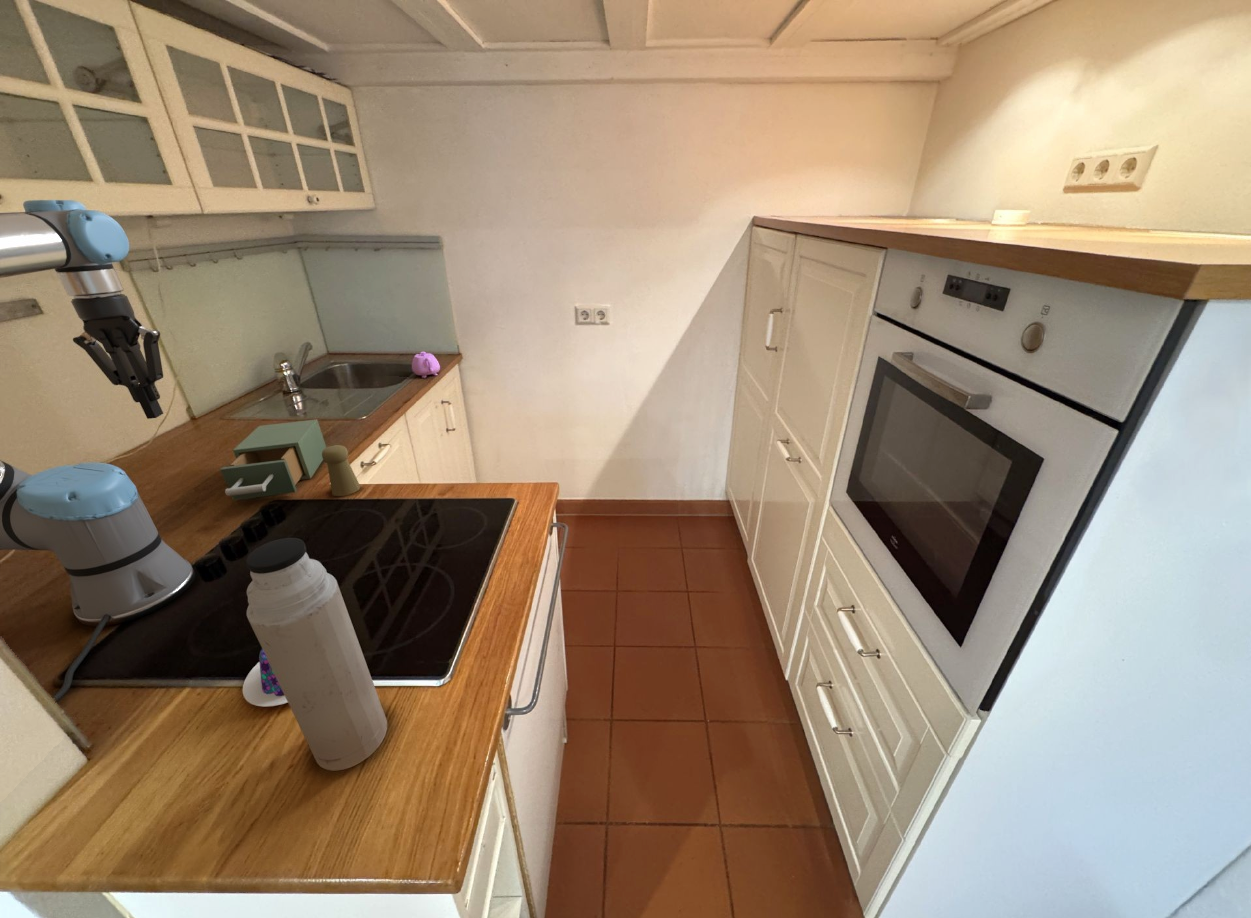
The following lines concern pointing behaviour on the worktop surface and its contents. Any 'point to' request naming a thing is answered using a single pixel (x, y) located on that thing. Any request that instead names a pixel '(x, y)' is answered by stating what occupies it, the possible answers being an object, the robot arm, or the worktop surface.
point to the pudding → (263, 685)
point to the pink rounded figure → (425, 364)
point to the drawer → (263, 473)
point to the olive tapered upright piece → (340, 471)
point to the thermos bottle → (314, 653)
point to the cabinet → (289, 442)
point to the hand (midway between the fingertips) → (155, 416)
